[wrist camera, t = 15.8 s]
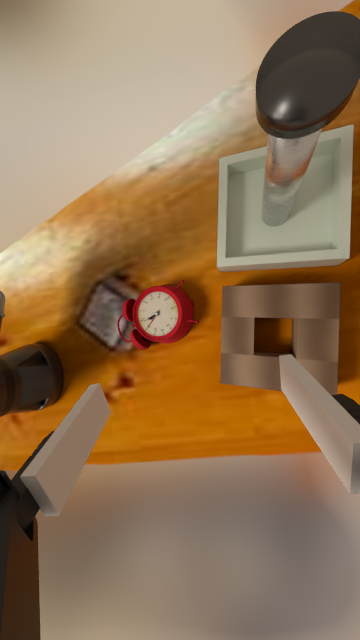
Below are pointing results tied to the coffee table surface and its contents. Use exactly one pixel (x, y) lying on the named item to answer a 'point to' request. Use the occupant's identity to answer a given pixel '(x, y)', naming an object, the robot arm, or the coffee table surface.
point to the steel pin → (302, 100)
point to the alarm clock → (158, 315)
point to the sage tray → (306, 217)
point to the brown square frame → (307, 332)
